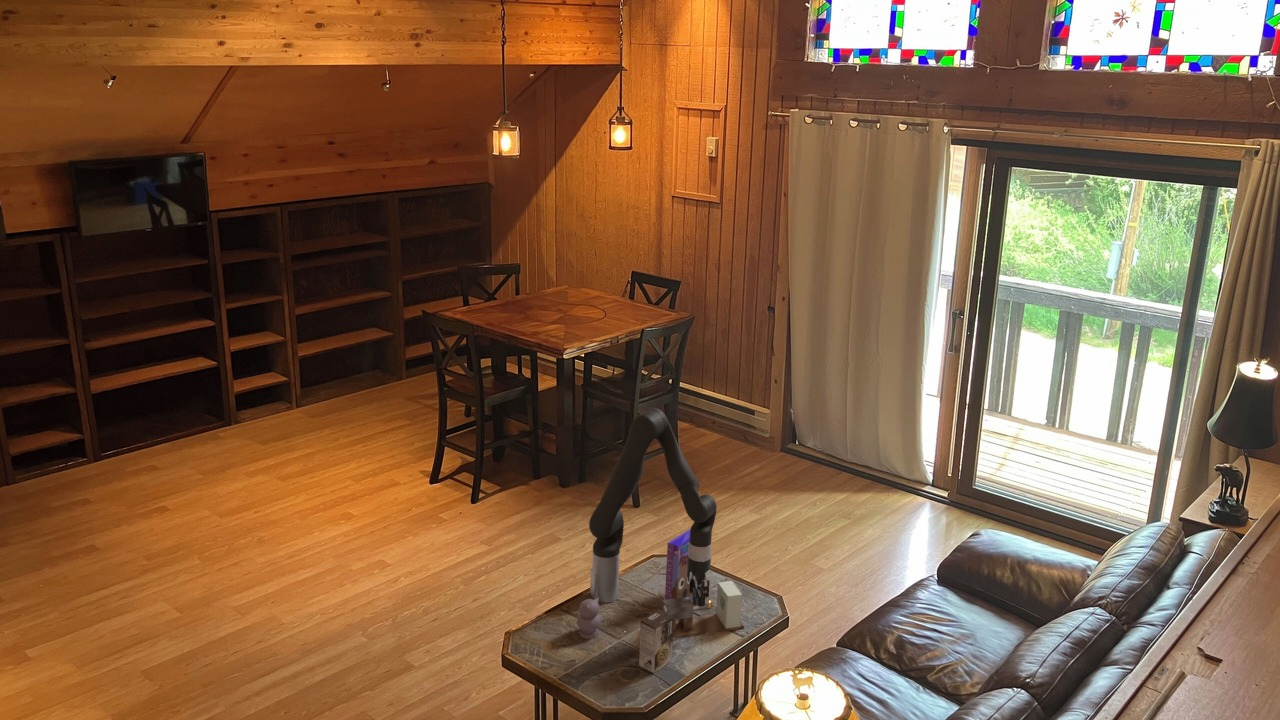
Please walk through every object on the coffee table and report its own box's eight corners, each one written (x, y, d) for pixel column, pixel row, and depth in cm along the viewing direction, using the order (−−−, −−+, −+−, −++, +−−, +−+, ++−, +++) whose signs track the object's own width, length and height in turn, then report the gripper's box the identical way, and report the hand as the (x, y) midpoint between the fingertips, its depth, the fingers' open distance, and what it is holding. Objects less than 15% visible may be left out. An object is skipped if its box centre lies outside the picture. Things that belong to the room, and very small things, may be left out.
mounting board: (666, 639, 323) (668, 611, 320) (658, 624, 332) (659, 596, 328) (743, 628, 331) (745, 600, 328) (733, 614, 339) (735, 587, 336)
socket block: (725, 628, 329) (727, 596, 325) (715, 614, 337) (718, 582, 334) (739, 626, 330) (742, 594, 327) (729, 612, 339) (731, 580, 335)
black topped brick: (666, 616, 324) (667, 595, 322) (663, 611, 327) (664, 590, 325) (712, 610, 329) (713, 589, 326) (708, 605, 332) (710, 584, 329)
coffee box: (656, 652, 316) (658, 608, 311) (672, 661, 312) (674, 615, 307) (638, 665, 309) (639, 619, 304) (654, 673, 305) (656, 627, 301)
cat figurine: (586, 623, 331) (587, 591, 327) (606, 630, 327) (607, 598, 323) (571, 635, 324) (572, 602, 320) (591, 643, 320) (592, 610, 316)
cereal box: (675, 609, 341) (679, 546, 334) (664, 604, 344) (667, 542, 336) (704, 589, 354) (708, 528, 347) (693, 584, 357) (696, 524, 350)
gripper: (681, 545, 328) (679, 589, 333) (696, 566, 315) (693, 611, 320) (702, 543, 330) (700, 586, 335) (718, 564, 317) (715, 609, 322)
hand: (697, 599), depth 328 cm, fingers open, 8 cm apart
